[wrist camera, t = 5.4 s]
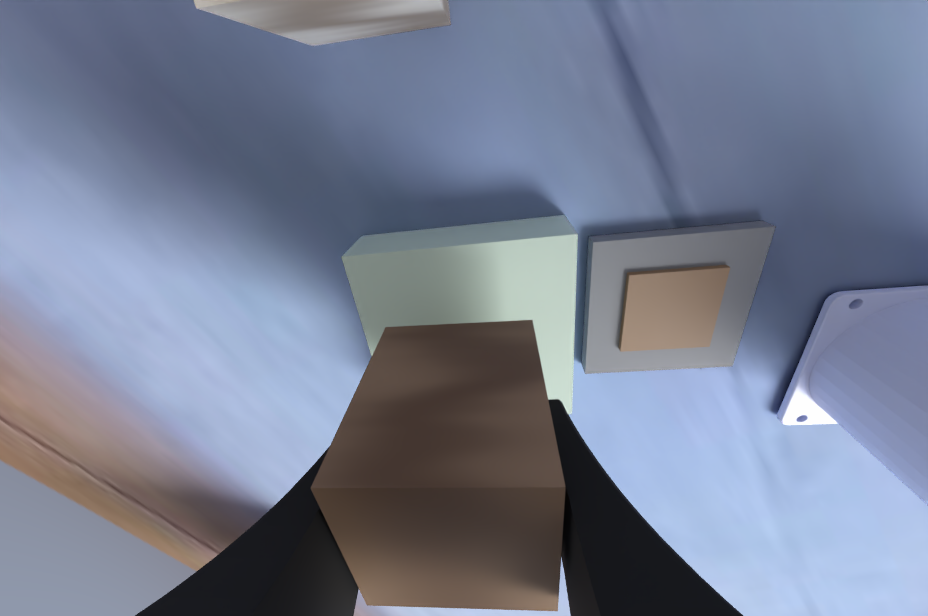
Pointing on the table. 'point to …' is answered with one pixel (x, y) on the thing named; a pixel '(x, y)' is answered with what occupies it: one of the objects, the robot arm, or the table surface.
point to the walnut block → (449, 472)
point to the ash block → (332, 17)
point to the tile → (671, 296)
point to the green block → (474, 283)
